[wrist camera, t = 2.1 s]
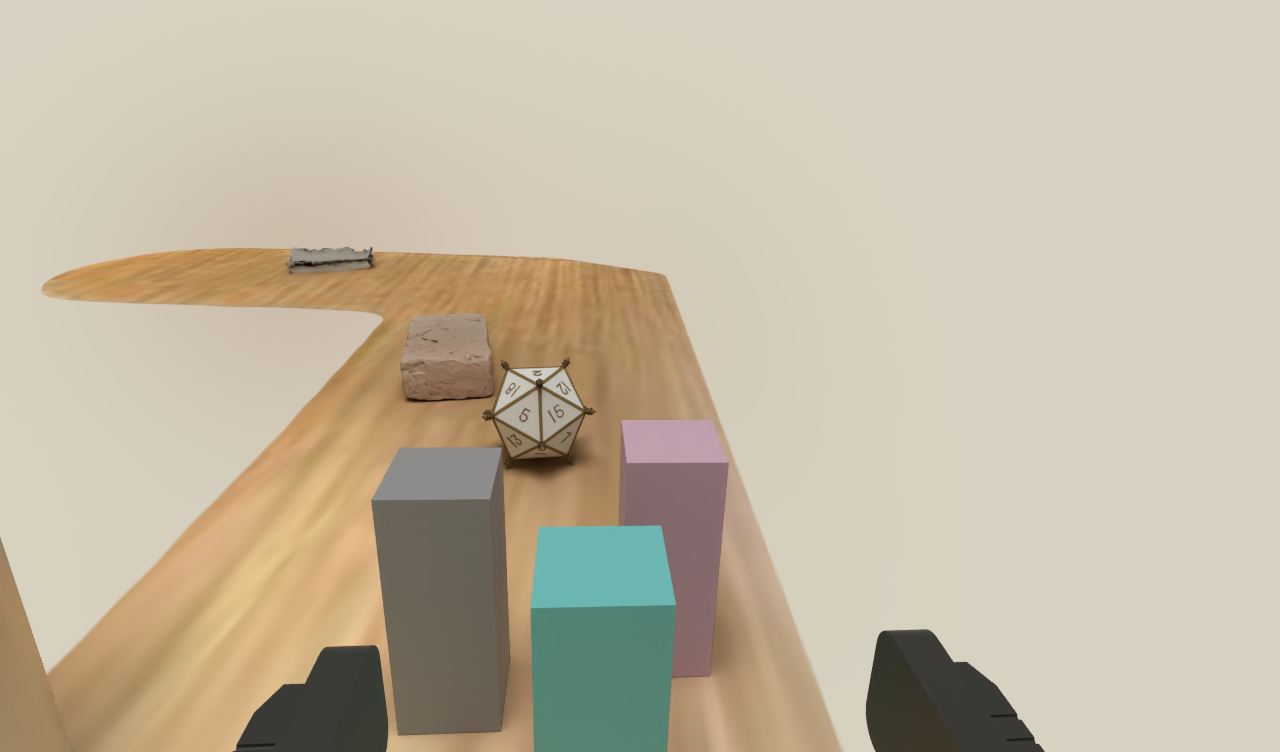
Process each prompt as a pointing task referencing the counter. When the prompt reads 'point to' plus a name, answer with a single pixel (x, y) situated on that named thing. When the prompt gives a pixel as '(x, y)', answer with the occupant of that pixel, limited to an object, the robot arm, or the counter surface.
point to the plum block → (680, 520)
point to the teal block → (602, 639)
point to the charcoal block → (445, 587)
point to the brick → (447, 358)
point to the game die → (537, 412)
